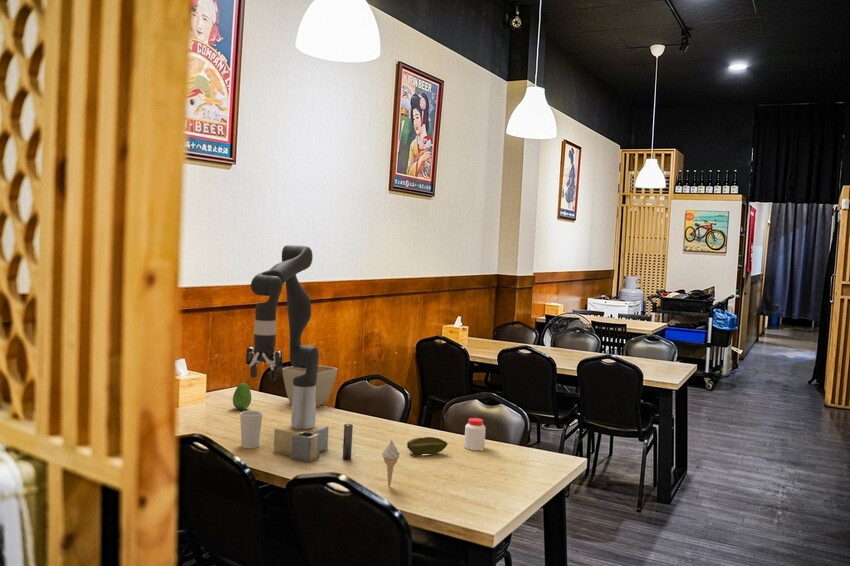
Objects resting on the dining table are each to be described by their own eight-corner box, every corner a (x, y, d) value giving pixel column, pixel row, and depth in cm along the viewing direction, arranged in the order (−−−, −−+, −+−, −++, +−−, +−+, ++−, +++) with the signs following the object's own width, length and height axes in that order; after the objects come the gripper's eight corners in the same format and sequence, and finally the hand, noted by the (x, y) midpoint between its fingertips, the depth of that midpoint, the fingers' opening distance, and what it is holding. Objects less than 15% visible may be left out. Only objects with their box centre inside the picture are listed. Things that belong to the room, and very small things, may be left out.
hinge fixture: (296, 443, 263) (297, 420, 262) (334, 450, 256) (335, 427, 255) (268, 454, 248) (269, 430, 247) (307, 462, 240) (308, 438, 240)
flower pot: (337, 403, 332) (338, 367, 331) (314, 410, 314) (316, 373, 313) (303, 397, 339) (304, 363, 338) (279, 404, 322) (281, 368, 321)
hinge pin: (345, 456, 249) (347, 423, 248) (352, 458, 248) (354, 424, 247) (340, 458, 246) (342, 425, 246) (348, 460, 245) (349, 426, 244)
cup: (255, 449, 252) (256, 416, 251) (234, 447, 253) (236, 414, 253) (264, 444, 259) (266, 411, 259) (244, 441, 261) (246, 409, 260)
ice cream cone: (380, 483, 223) (382, 436, 223) (397, 483, 224) (400, 437, 223) (380, 489, 218) (383, 441, 217) (398, 489, 218) (401, 442, 217)
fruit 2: (421, 447, 265) (422, 430, 265) (448, 454, 258) (449, 437, 258) (403, 454, 256) (404, 436, 256) (430, 461, 249) (431, 443, 249)
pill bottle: (487, 447, 270) (488, 419, 270) (480, 452, 263) (481, 423, 263) (468, 444, 274) (470, 416, 273) (461, 448, 267) (462, 420, 266)
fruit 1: (233, 407, 313) (234, 380, 312) (252, 407, 314) (253, 381, 313) (230, 411, 305) (231, 384, 304) (249, 411, 306) (250, 384, 305)
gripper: (288, 333, 244) (286, 380, 245) (256, 329, 250) (254, 374, 251) (274, 336, 237) (272, 383, 238) (241, 331, 244) (240, 377, 245)
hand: (263, 378), depth 245 cm, fingers open, 8 cm apart
